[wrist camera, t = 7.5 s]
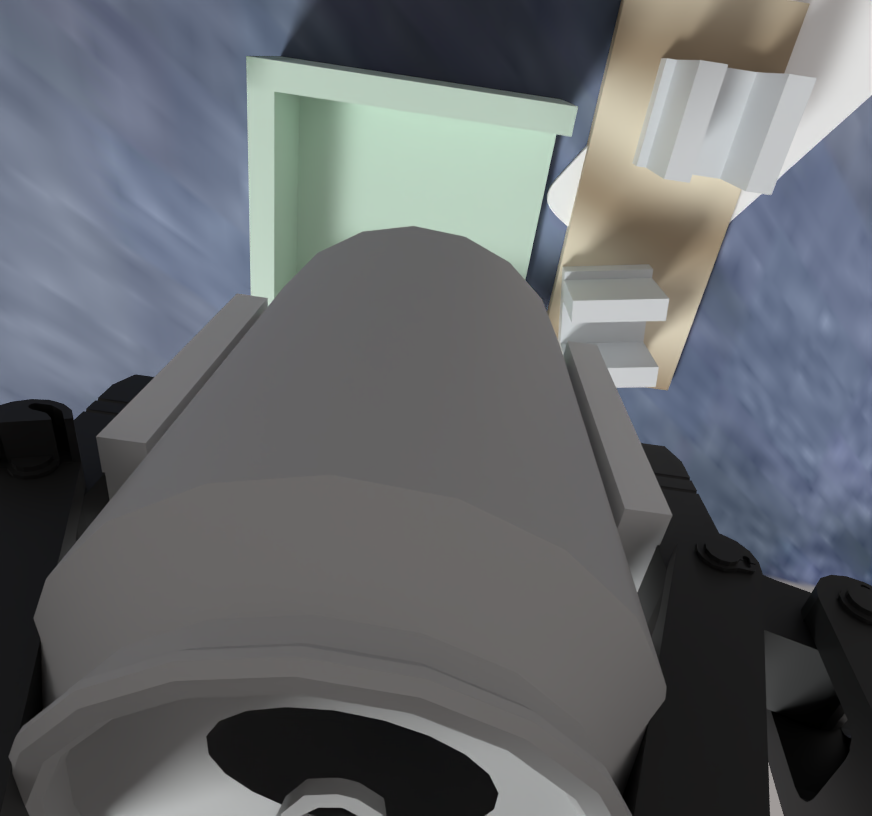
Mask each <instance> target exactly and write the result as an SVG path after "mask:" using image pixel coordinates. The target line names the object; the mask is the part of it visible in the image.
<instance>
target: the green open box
mask: <svg viewBox="0 0 872 816" xmlns="http://www.w3.org/2000/svg"><path fill="white" fill-rule="evenodd" d="M246 63H247V115H248V168H249V220H250V272H251V296H257V297H264V298H268V306H269V305H270V303H271V302H272V301H273V300H274V298H275V297H276V296H277V295H278V294H279V292H280V291H281V290H282V289H283V287H284V286H285V285H286V284H287V283H288V282H289V281H290V280H291V279H292V278H293V277H294V276H295V275H296V274H297V273H298V272H299V271H300V270H301V269H302V268H303V267H304V266H305V265H306V264H307V263H308V262H309V261H310V260H311V259H312V258H313V257H314V256H315V255H316V254H317V253H318V252H320V251H322V250H325V249H327V248H329V247H331V246H333V245H335V244H337V243H339V242H341V241H344V240H346V239H348V238H350V237H352V236H354V235H356V234H358V233H360V232H363V231H372V230H381V229H390V228H399V227H408V226H417V227H422V228H426V229H431V230H436V231H441V232H445V233H450V234H455V235H460V236H464V237H467V238H468V239H470V240H472V241H474V242H475V243H477V244H479V245H481V246H482V247H484V248H486V249H487V250H489V251H491V252H493V253H494V254H496V255H498V256H499V257H501V258H503V259H505V260H506V261H508V262H510V263H511V264H512V266H513V267H514V268H515V269H516V270H517V271H518V272H519V274H520V275H521V276H522V277H523V278H524V279H526V275H527V270H528V265H529V260H530V256H531V251H532V246H533V242H534V237H535V232H536V228H537V223H538V218H539V214H540V209H541V204H542V199H543V195H544V190H545V185H546V181H547V176H548V171H549V167H550V162H551V157H552V153H553V148H554V143H555V138H556V134H557V135H564V136H572V132H573V127H574V123H575V118H576V114H577V109H578V107H577V106H575V105H573V104H571V103H569V102H566V101H564V100H562V99H556V98H550V97H543V96H537V95H530V94H524V93H517V92H511V91H504V90H497V89H491V88H484V87H478V86H471V85H465V84H458V83H452V82H445V81H439V80H432V79H426V78H419V77H413V76H406V75H400V74H393V73H386V72H380V71H373V70H367V69H360V68H354V67H347V66H341V65H334V64H328V63H321V62H315V61H308V60H302V59H295V58H288V57H282V56H246Z"/></svg>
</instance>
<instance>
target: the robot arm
mask: <svg viewBox="0 0 872 816" xmlns="http://www.w3.org/2000/svg"><path fill="white" fill-rule="evenodd" d="M267 307H268V298H264V297H257V296H250V295H243V294H236V295H235V296H234V297H233V298H232V299H231V300H230V301H229V302H228V303H227V304H226V305H225V306H224V307H223V308H222V309H221V310H220V311H219V312H218V313H217V314H216V315H215V316H214V317H213V318H212V319H211V321H210V322H209V323H208V324H207V325H206V326H205V327H204V328H203V329H202V330H201V331H200V332H199V333H198V334H197V335H196V336H195V337H194V338H193V339H192V340H191V341H190V342H189V343H188V344H187V345H186V346H185V347H184V348H183V349H182V350H181V351H180V352H179V353H178V354H177V355H176V356H175V357H174V358H173V359H172V360H171V361H170V362H169V363H168V364H167V365H166V366H165V367H164V368H163V369H162V370H161V371H160V372H159V373H158V374H157V375H156V376H155V377H150V376H142V375H133V376H131V377H129V378H126V379H124V380H122V381H120V382H117V383H115V384H113V385H112V386H111V387H110V388H108V389H107V390H106V391H105V392H104V393H103V394H102V395H101V396H100V397H99V398H98V401H96V400H95V401H94V402H93V403H92V404H91V405H90V406H89V407H88V408H87V409H86V412H84V411H83V412H82V413H81V414H80V415H79V416H78V417H77V418H76V419H75V420H73V414H72V410H71V409H70V408H68V407H67V406H66V405H64V404H62V403H59V402H55V401H51V400H38V399H30V400H22V401H14V402H10V403H6V404H3V405H0V816H29V813H28V811H27V809H26V807H25V805H24V803H23V800H22V797H21V795H20V792H19V789H18V787H17V784H16V781H15V779H14V776H13V773H12V763H11V761H10V759H9V754H10V751H11V748H12V745H13V742H14V740H15V737H16V735H17V734H18V732H19V731H20V729H21V728H22V726H24V725H25V724H26V723H27V722H29V721H30V720H31V719H33V718H34V717H35V716H36V715H38V714H39V713H40V712H41V711H43V709H42V673H41V639H40V636H39V633H38V630H37V627H36V624H35V621H34V615H35V612H36V609H37V605H38V602H39V599H40V596H41V593H42V590H43V587H44V584H45V580H46V578H47V577H48V576H49V575H50V573H51V572H52V571H53V570H54V569H55V567H56V566H57V565H58V564H59V562H60V561H61V560H62V559H63V557H64V556H65V555H66V554H67V553H68V551H69V550H70V549H71V548H72V546H73V545H74V544H75V543H76V542H77V540H78V539H79V538H80V537H81V535H82V534H83V533H84V532H85V530H86V529H87V528H88V527H89V526H90V524H91V523H92V522H93V521H94V519H95V518H96V517H97V516H98V514H99V513H100V512H101V511H102V510H103V508H104V507H105V506H106V505H107V503H108V502H109V501H110V500H111V499H112V497H113V496H114V495H115V494H116V492H117V491H118V490H119V489H120V487H121V486H122V485H123V484H124V483H125V481H126V480H127V479H128V478H129V476H130V475H131V474H132V473H133V472H134V470H135V469H136V468H137V467H138V465H139V464H140V463H141V462H142V460H143V459H144V458H145V457H146V456H147V454H148V453H149V452H150V451H151V449H152V448H153V447H154V446H155V445H156V443H157V442H158V441H159V440H160V438H161V437H162V436H163V435H164V433H165V432H166V431H167V430H168V429H169V427H170V426H171V425H172V424H173V422H174V421H175V420H176V419H177V418H178V416H179V415H180V414H181V413H182V411H183V410H184V409H185V408H186V406H187V405H188V404H189V403H190V402H191V400H192V399H193V398H194V397H195V395H196V394H197V393H198V392H199V391H200V389H201V388H202V387H203V386H204V384H205V383H206V382H207V381H208V379H209V378H210V377H211V376H212V375H213V373H214V372H215V371H216V370H217V368H218V367H219V366H220V365H221V364H222V362H223V361H224V360H225V359H226V357H227V356H228V355H229V354H230V352H231V351H232V350H233V349H234V348H235V346H236V345H237V344H238V343H239V341H240V340H241V339H242V338H243V337H244V335H245V334H246V333H247V332H248V330H249V329H250V328H251V327H252V325H253V324H254V323H255V322H256V321H257V319H258V318H259V317H260V316H261V314H262V313H263V312H264V311H265V310H266V308H267ZM563 357H564V360H565V364H566V367H567V370H568V373H569V376H570V380H571V383H572V386H573V389H574V392H575V396H576V399H577V402H578V405H579V408H580V412H581V415H582V418H583V421H584V424H585V428H586V431H587V434H588V437H589V440H590V444H591V447H592V450H593V453H594V456H595V459H596V463H597V466H598V469H599V472H600V475H601V479H602V482H603V485H604V488H605V491H606V495H607V498H608V501H609V504H610V507H611V511H612V514H613V517H614V520H615V523H616V527H617V530H618V533H619V536H620V539H621V543H622V546H623V549H624V552H625V555H626V559H627V562H628V565H629V568H630V571H631V574H632V578H633V581H634V584H635V587H636V590H637V594H638V597H639V600H640V603H641V606H642V610H643V613H644V616H645V619H646V622H647V626H648V629H649V632H650V635H651V638H652V642H653V645H654V648H655V651H656V654H657V658H658V661H659V664H660V667H661V670H662V674H663V677H664V680H665V683H666V686H667V687H666V698H665V700H664V702H663V703H662V704H661V706H660V707H659V708H658V710H657V711H656V712H655V714H654V715H653V716H652V718H651V719H650V720H649V722H648V725H647V728H646V731H645V734H644V737H643V739H642V742H641V745H640V748H639V751H638V754H637V756H636V759H635V762H634V765H633V768H632V771H631V773H630V776H629V779H628V782H627V785H626V787H625V790H624V793H623V796H622V798H623V800H624V801H625V803H626V805H627V807H628V809H629V810H630V812H631V814H632V816H770V807H769V806H770V805H769V773H768V762H769V766H770V769H771V773H772V776H773V780H774V783H775V787H776V790H777V793H778V797H779V800H780V804H781V807H782V811H783V814H784V816H872V586H871V585H869V584H866V583H864V582H861V581H858V580H855V579H852V578H849V577H847V576H837V575H829V576H826V577H823V578H820V580H819V582H818V583H817V585H816V586H815V588H814V590H813V591H812V593H810V592H807V591H804V590H801V589H799V588H796V587H793V586H790V585H788V584H785V583H782V582H779V581H776V580H774V579H771V578H769V577H767V576H764V575H762V571H761V568H760V564H759V562H758V561H757V560H756V558H755V557H754V556H753V555H752V554H751V552H750V551H749V550H747V549H746V548H745V547H743V546H742V545H740V544H739V543H738V542H736V541H734V540H732V539H730V538H728V537H726V536H724V535H722V534H719V532H718V530H717V529H716V527H715V525H714V523H713V521H712V519H711V517H710V515H709V513H708V511H707V509H706V508H705V506H704V504H703V502H702V500H701V498H700V496H699V494H696V491H697V490H696V488H695V487H694V485H693V483H692V481H690V477H689V475H688V473H687V471H686V469H685V467H684V466H683V464H682V462H681V461H680V460H679V459H678V458H677V457H676V456H675V455H674V454H672V453H671V452H670V451H669V450H668V449H667V448H666V447H665V446H658V445H651V444H643V443H640V441H639V438H638V436H637V434H636V432H635V429H634V427H633V425H632V423H631V420H630V418H629V416H628V414H627V411H626V409H625V407H624V405H623V402H622V400H621V398H620V396H619V393H618V391H617V389H616V386H615V384H614V382H613V380H612V377H611V375H610V373H609V371H608V368H607V366H606V364H605V362H604V359H603V357H602V355H601V353H600V350H599V348H598V346H597V345H593V344H586V343H579V342H572V341H567V344H566V348H565V352H564V355H563Z"/></svg>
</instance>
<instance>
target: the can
mask: <svg viewBox="0 0 872 816" xmlns="http://www.w3.org/2000/svg"><path fill="white" fill-rule="evenodd" d="M34 621H35V624H36V627H37V630H38V633H39V636H40V639H41V673H42V709H43V711H41V712H40V713H39V714H38V715H36V716H35V717H34V718H33V719H31V720H30V721H29V722H27V723H26V724H25V725H24V726H22V728H21V729H20V731H19V732H18V734H17V735H16V737H15V740H14V742H13V745H12V748H11V751H10V754H9V759H10V761H11V763H12V773H13V776H14V779H15V781H16V784H17V787H18V789H19V792H20V795H21V797H22V800H23V803H24V805H25V807H26V809H27V811H28V813H29V816H632V814H631V812H630V810H629V809H628V807H627V805H626V803H625V801H624V800H623V798H622V796H623V793H624V790H625V787H626V785H627V782H628V779H629V776H630V773H631V771H632V768H633V765H634V762H635V759H636V756H637V754H638V751H639V748H640V745H641V742H642V739H643V737H644V734H645V731H646V728H647V725H648V722H649V720H650V719H651V718H652V716H653V715H654V714H655V712H656V711H657V710H658V708H659V707H660V706H661V704H662V703H663V702H664V700H665V698H666V687H667V686H666V683H665V680H664V677H663V674H662V670H661V667H660V664H659V661H658V658H657V654H656V651H655V648H654V645H653V642H652V638H651V635H650V632H649V629H648V626H647V622H646V619H645V616H644V613H643V610H642V606H641V603H640V600H639V597H638V594H637V590H636V587H635V584H634V581H633V578H632V574H631V571H630V568H629V565H628V562H627V559H626V555H625V552H624V549H623V546H622V543H621V539H620V536H619V533H618V530H617V527H616V523H615V520H614V517H613V514H612V511H611V507H610V504H609V501H608V498H607V495H606V491H605V488H604V485H603V482H602V479H601V475H600V472H599V469H598V466H597V463H596V459H595V456H594V453H593V450H592V447H591V444H590V440H589V437H588V434H587V431H586V428H585V424H584V421H583V418H582V415H581V412H580V408H579V405H578V402H577V399H576V396H575V392H574V389H573V386H572V383H571V380H570V376H569V373H568V370H567V367H566V364H565V360H564V357H563V354H562V351H561V348H560V344H559V341H558V339H557V336H556V334H555V331H554V329H553V326H552V324H551V321H550V319H549V316H548V313H547V311H546V308H545V306H544V303H543V301H542V299H541V298H540V297H539V295H538V294H537V293H536V292H535V291H534V290H533V288H532V287H531V286H530V285H529V284H528V283H527V282H526V280H525V279H524V278H523V277H522V276H521V275H520V274H519V272H518V271H517V270H516V269H515V268H514V267H513V266H512V264H511V263H510V262H508V261H506V260H505V259H503V258H501V257H499V256H498V255H496V254H494V253H493V252H491V251H489V250H487V249H486V248H484V247H482V246H481V245H479V244H477V243H475V242H474V241H472V240H470V239H468V238H467V237H464V236H460V235H455V234H450V233H445V232H441V231H436V230H431V229H426V228H422V227H417V226H408V227H399V228H390V229H381V230H372V231H363V232H360V233H358V234H356V235H354V236H352V237H350V238H348V239H346V240H344V241H341V242H339V243H337V244H335V245H333V246H331V247H329V248H327V249H325V250H322V251H320V252H318V253H317V254H316V255H315V256H314V257H313V258H312V259H311V260H310V261H309V262H308V263H307V264H306V265H305V266H304V267H303V268H302V269H301V270H300V271H299V272H298V273H297V274H296V275H295V276H294V277H293V278H292V279H291V280H290V281H289V282H288V283H287V284H286V285H285V286H284V287H283V289H282V290H281V291H280V292H279V294H278V295H277V296H276V297H275V298H274V300H273V301H272V302H271V303H270V305H269V306H268V307H267V308H266V310H265V311H264V312H263V313H262V314H261V316H260V317H259V318H258V319H257V321H256V322H255V323H254V324H253V325H252V327H251V328H250V329H249V330H248V332H247V333H246V334H245V335H244V337H243V338H242V339H241V340H240V341H239V343H238V344H237V345H236V346H235V348H234V349H233V350H232V351H231V352H230V354H229V355H228V356H227V357H226V359H225V360H224V361H223V362H222V364H221V365H220V366H219V367H218V368H217V370H216V371H215V372H214V373H213V375H212V376H211V377H210V378H209V379H208V381H207V382H206V383H205V384H204V386H203V387H202V388H201V389H200V391H199V392H198V393H197V394H196V395H195V397H194V398H193V399H192V400H191V402H190V403H189V404H188V405H187V406H186V408H185V409H184V410H183V411H182V413H181V414H180V415H179V416H178V418H177V419H176V420H175V421H174V422H173V424H172V425H171V426H170V427H169V429H168V430H167V431H166V432H165V433H164V435H163V436H162V437H161V438H160V440H159V441H158V442H157V443H156V445H155V446H154V447H153V448H152V449H151V451H150V452H149V453H148V454H147V456H146V457H145V458H144V459H143V460H142V462H141V463H140V464H139V465H138V467H137V468H136V469H135V470H134V472H133V473H132V474H131V475H130V476H129V478H128V479H127V480H126V481H125V483H124V484H123V485H122V486H121V487H120V489H119V490H118V491H117V492H116V494H115V495H114V496H113V497H112V499H111V500H110V501H109V502H108V503H107V505H106V506H105V507H104V508H103V510H102V511H101V512H100V513H99V514H98V516H97V517H96V518H95V519H94V521H93V522H92V523H91V524H90V526H89V527H88V528H87V529H86V530H85V532H84V533H83V534H82V535H81V537H80V538H79V539H78V540H77V542H76V543H75V544H74V545H73V546H72V548H71V549H70V550H69V551H68V553H67V554H66V555H65V556H64V557H63V559H62V560H61V561H60V562H59V564H58V565H57V566H56V567H55V569H54V570H53V571H52V572H51V573H50V575H49V576H48V577H47V578H46V580H45V584H44V587H43V590H42V593H41V596H40V599H39V602H38V605H37V609H36V612H35V615H34Z"/></svg>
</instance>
